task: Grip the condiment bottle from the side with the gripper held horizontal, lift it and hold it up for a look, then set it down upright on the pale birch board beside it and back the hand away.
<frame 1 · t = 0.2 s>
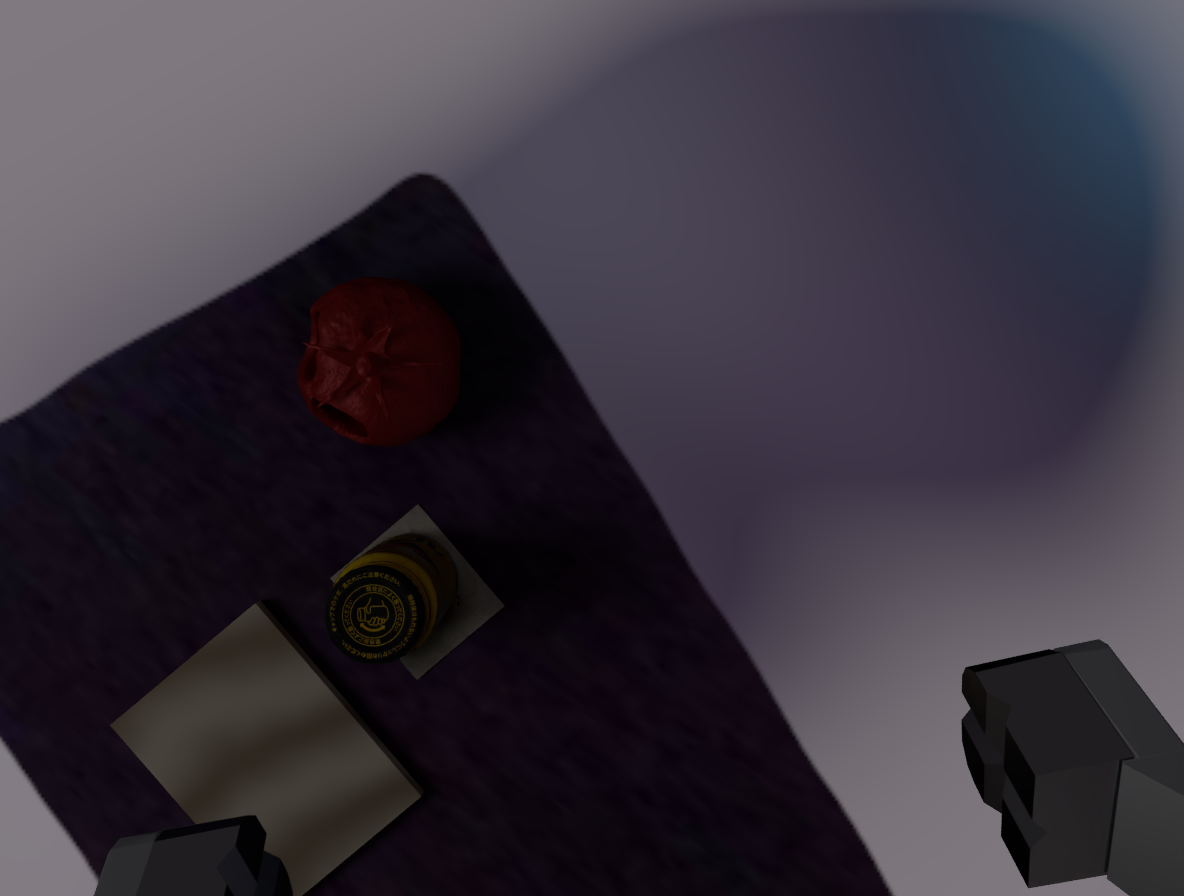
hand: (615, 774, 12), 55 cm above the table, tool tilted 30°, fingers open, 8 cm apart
board: (270, 755, 67), on the table
pomegranate: (392, 365, 66), on the table
condiment: (418, 590, 67), on the table
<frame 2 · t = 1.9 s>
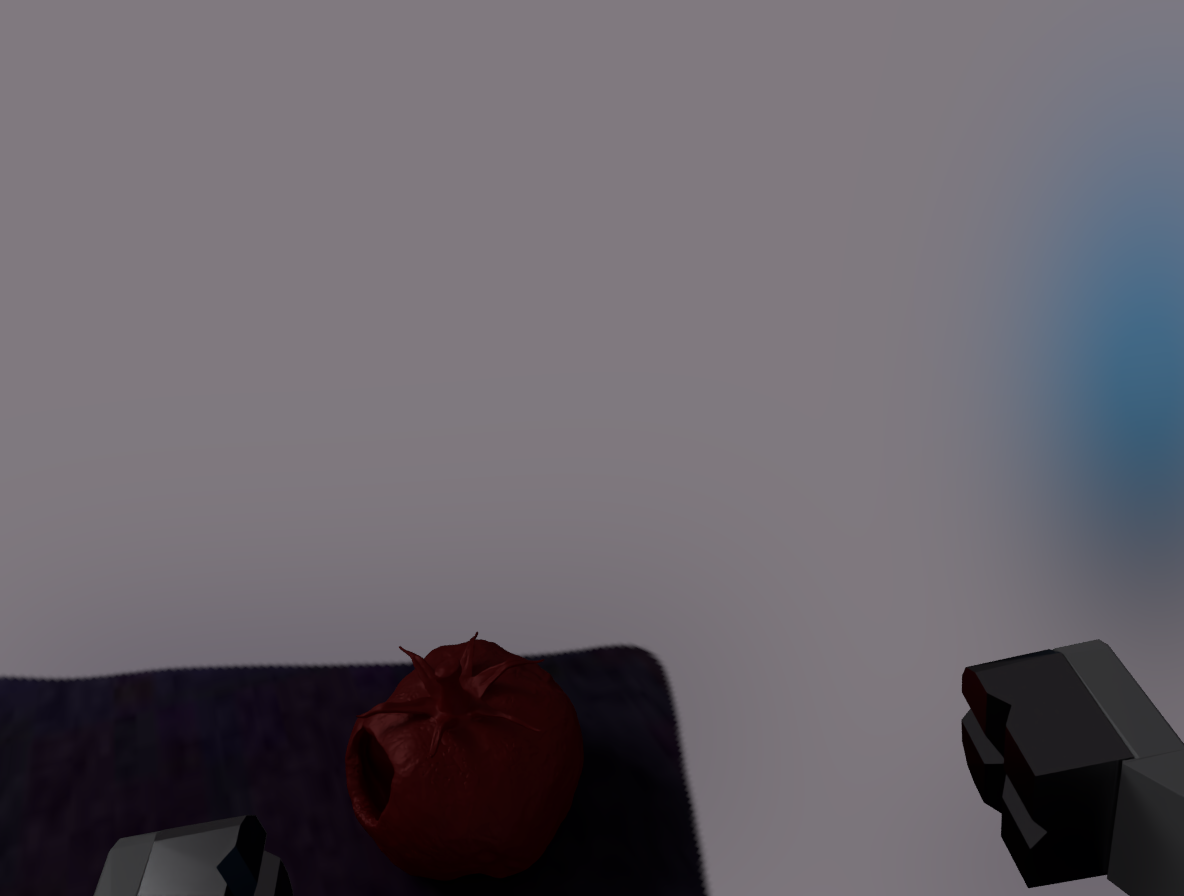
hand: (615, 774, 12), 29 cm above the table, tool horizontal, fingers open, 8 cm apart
pomegranate: (476, 811, 46), on the table
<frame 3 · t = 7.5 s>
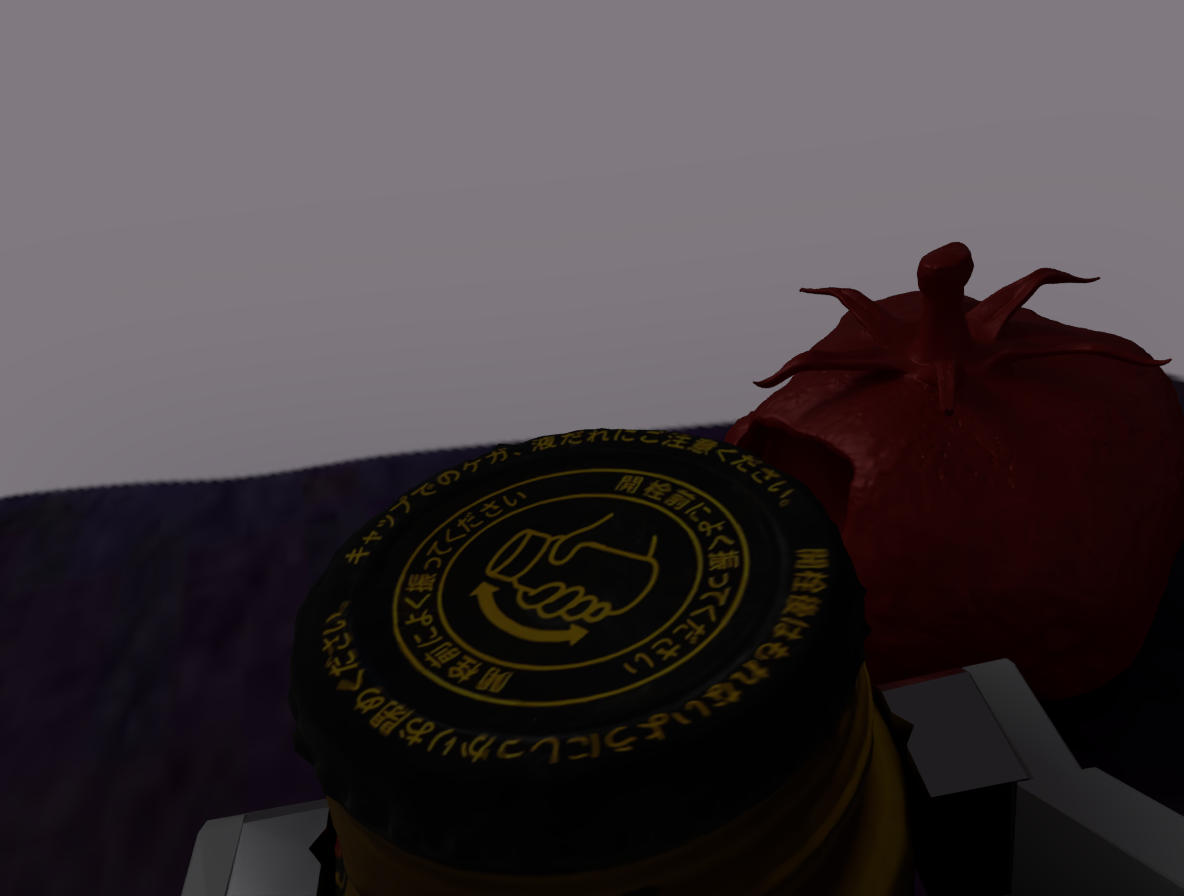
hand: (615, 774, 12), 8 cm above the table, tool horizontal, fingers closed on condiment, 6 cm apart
pomegranate: (943, 608, 25), on the table
when the fingers open (10 cm above the table, at t = 15.5 s): condiment stays where it is, resting on board.
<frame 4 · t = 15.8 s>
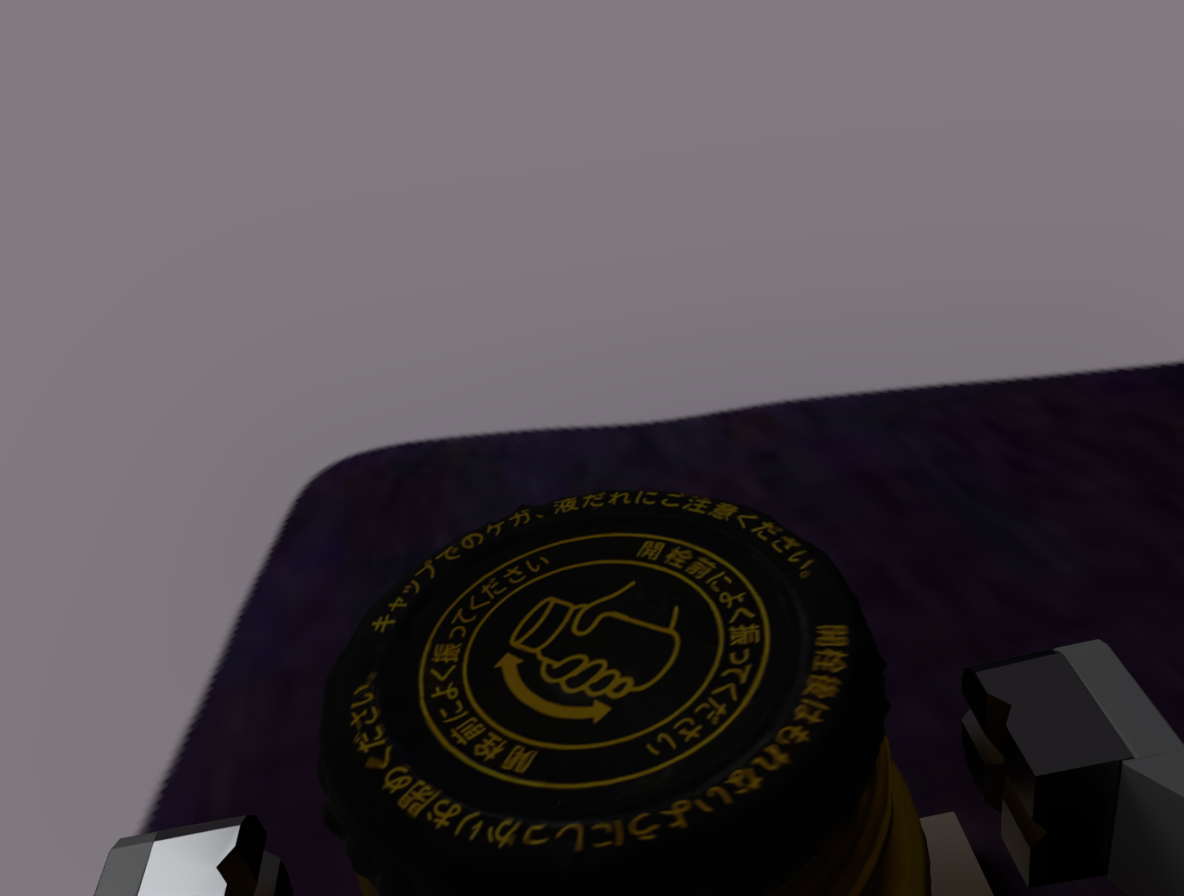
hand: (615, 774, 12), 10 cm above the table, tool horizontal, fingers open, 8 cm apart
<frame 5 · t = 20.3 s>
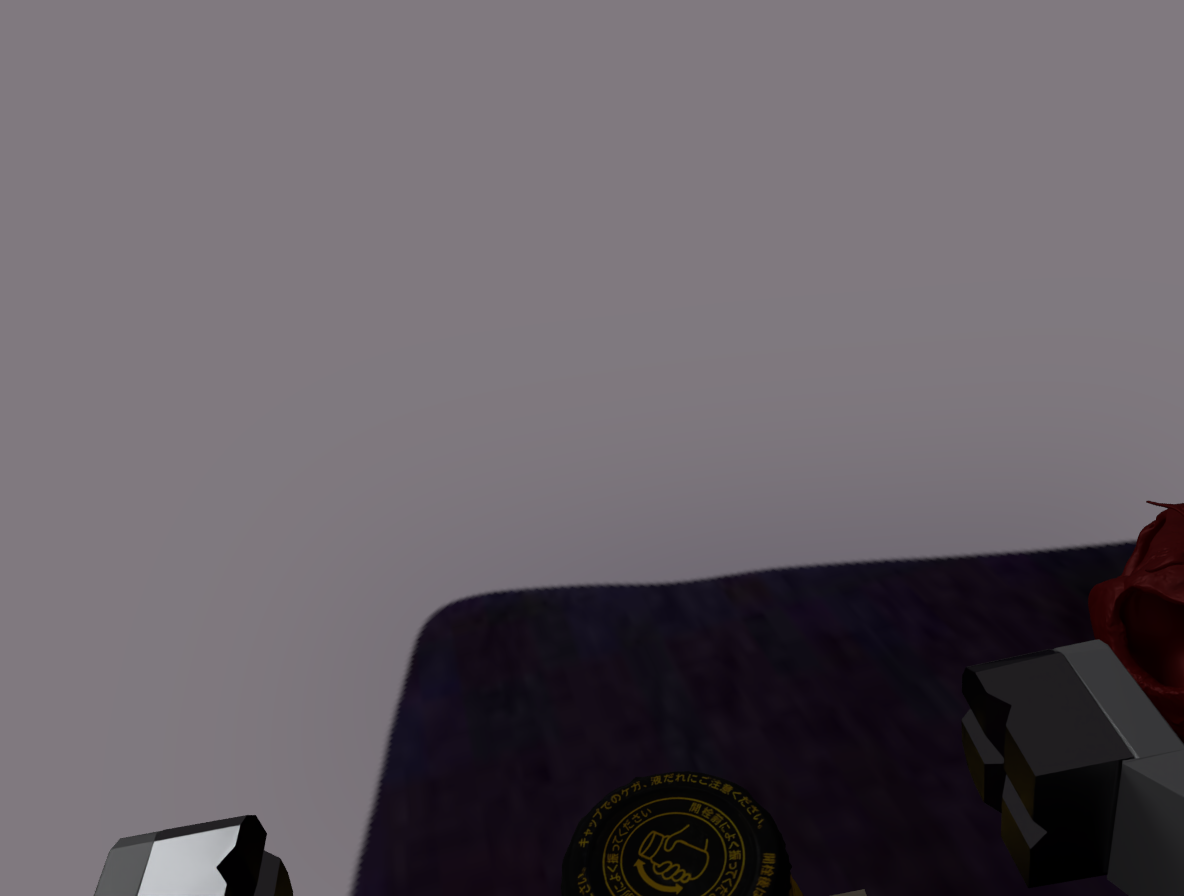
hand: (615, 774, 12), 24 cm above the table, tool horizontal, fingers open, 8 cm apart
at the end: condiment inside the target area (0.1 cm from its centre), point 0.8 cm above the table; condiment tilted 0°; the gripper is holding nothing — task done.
